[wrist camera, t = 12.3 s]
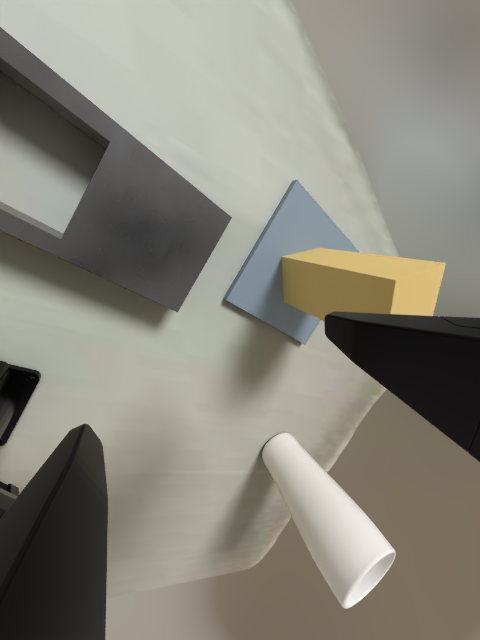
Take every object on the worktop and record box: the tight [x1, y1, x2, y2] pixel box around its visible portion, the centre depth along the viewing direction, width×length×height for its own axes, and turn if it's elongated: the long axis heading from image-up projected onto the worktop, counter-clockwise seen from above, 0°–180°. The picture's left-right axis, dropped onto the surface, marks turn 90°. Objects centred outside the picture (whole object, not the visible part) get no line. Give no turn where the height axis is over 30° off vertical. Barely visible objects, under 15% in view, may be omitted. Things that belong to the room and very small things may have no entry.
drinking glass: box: [262, 433, 396, 609], centre depth 27 cm, size 7×7×15 cm
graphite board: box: [0, 27, 232, 312], centre depth 14 cm, size 8×18×2 cm, turn 55°
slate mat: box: [224, 180, 360, 344], centre depth 24 cm, size 12×12×1 cm
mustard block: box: [282, 248, 445, 321], centre depth 19 cm, size 5×5×11 cm
